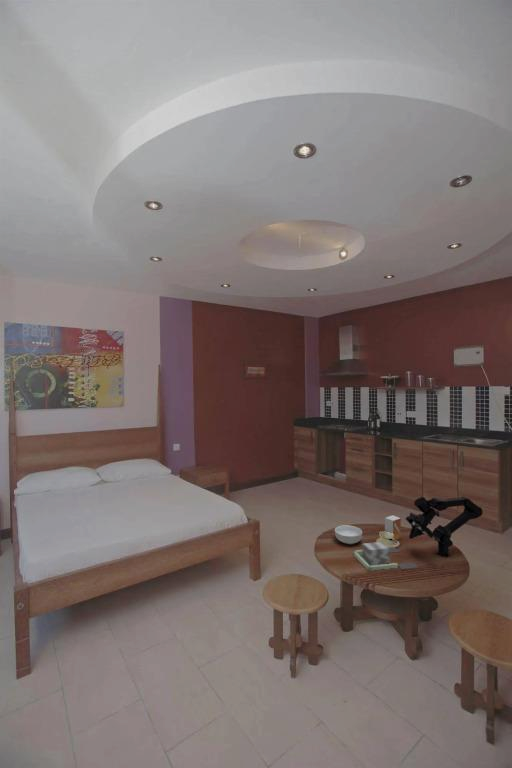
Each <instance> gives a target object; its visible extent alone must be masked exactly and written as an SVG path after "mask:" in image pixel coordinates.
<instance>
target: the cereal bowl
mask: <svg viewBox="0 0 512 768" xmlns="http://www.w3.org/2000/svg"><path fill="white" fill-rule="evenodd" d="M334 535H335V538H336V539H337V540H338V541H340V542H341V543H343V544H346V545H353V544H356V543H359V542H360V541H361V540H362V538H363V531H362V528H360V527H358V526H353V525H347V524H344V525H338V526H337V527H335V529H334Z"/></svg>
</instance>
